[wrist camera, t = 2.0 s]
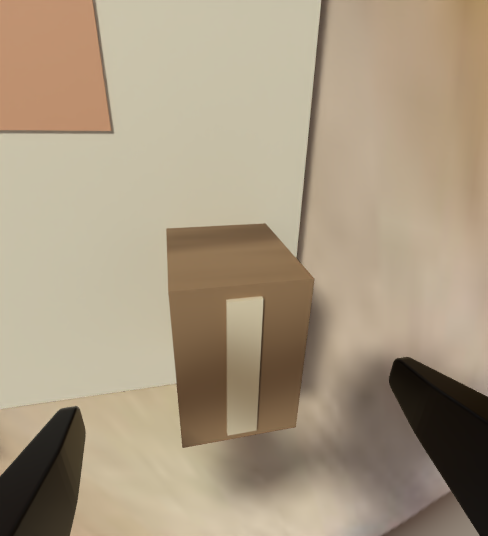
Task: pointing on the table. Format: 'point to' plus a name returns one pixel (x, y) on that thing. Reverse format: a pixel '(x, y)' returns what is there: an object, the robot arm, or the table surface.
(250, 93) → the arena
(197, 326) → the walnut block
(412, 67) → the table surface
